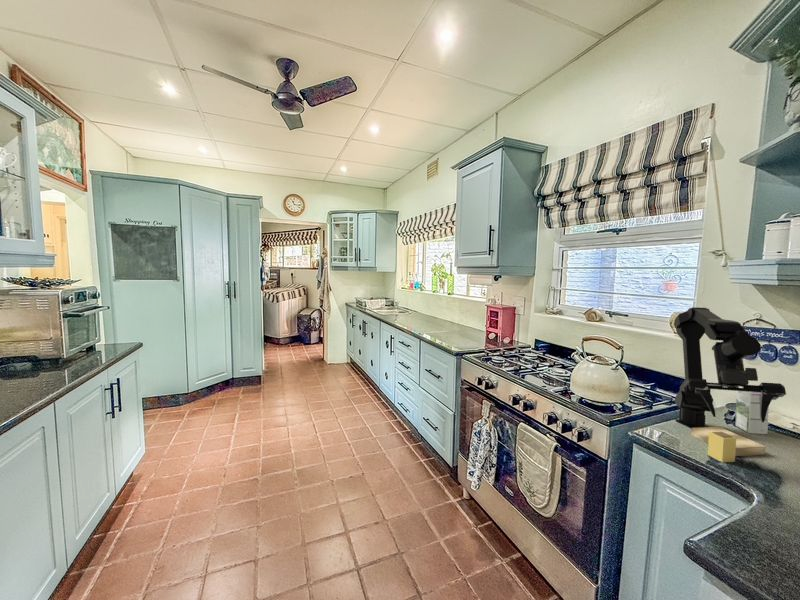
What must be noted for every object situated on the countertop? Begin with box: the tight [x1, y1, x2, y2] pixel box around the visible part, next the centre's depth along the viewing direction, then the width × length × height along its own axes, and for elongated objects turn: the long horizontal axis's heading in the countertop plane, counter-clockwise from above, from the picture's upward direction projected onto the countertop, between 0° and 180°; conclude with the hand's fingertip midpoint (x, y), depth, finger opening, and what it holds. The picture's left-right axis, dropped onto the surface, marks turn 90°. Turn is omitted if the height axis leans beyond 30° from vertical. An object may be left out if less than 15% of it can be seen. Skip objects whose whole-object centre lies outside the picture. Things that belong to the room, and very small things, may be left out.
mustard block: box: [707, 432, 736, 463], centre depth 94 cm, size 4×4×7 cm
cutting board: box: [691, 426, 766, 457], centre depth 102 cm, size 13×10×2 cm
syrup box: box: [734, 386, 770, 435], centre depth 111 cm, size 6×6×14 cm
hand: (737, 419), depth 88 cm, fingers open, 9 cm apart
